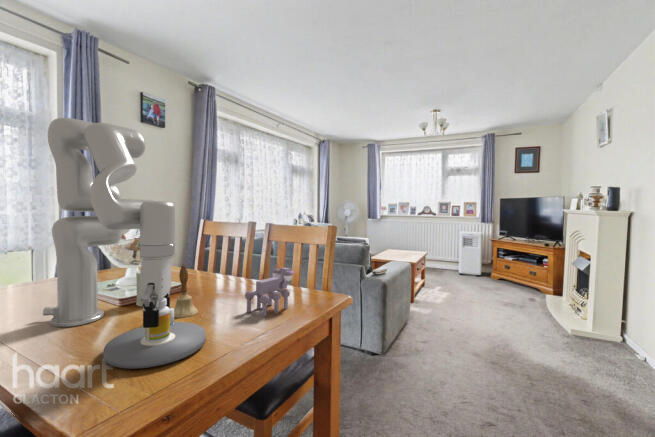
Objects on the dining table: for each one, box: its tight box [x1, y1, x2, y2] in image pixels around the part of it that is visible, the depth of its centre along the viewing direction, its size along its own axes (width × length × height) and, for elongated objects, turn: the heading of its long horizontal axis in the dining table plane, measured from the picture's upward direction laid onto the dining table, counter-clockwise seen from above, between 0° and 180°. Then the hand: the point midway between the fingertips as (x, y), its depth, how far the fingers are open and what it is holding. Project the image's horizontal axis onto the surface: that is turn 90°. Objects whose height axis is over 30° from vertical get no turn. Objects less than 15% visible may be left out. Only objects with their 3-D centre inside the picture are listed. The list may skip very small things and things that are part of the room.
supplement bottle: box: [145, 298, 170, 342], centre depth 76 cm, size 5×5×10 cm
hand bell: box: [174, 264, 199, 319], centre depth 101 cm, size 8×8×16 cm
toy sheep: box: [244, 267, 295, 318], centre depth 108 cm, size 20×11×14 cm, turn 144°
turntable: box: [103, 307, 207, 369], centre depth 76 cm, size 22×22×6 cm
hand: (157, 319), depth 76 cm, fingers open, 9 cm apart
